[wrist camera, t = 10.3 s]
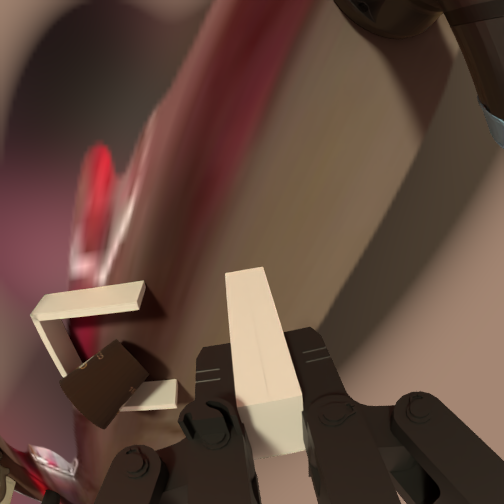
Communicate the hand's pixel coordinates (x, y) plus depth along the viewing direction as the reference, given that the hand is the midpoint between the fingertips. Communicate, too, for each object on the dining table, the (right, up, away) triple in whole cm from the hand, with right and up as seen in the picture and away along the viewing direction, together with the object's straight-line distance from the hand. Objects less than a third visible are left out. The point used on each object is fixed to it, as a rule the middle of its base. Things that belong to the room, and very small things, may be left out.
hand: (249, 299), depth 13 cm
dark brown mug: (-16, -12, +27) cm, 34 cm away
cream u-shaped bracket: (-19, -11, +28) cm, 35 cm away
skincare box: (-79, -72, +45) cm, 116 cm away
